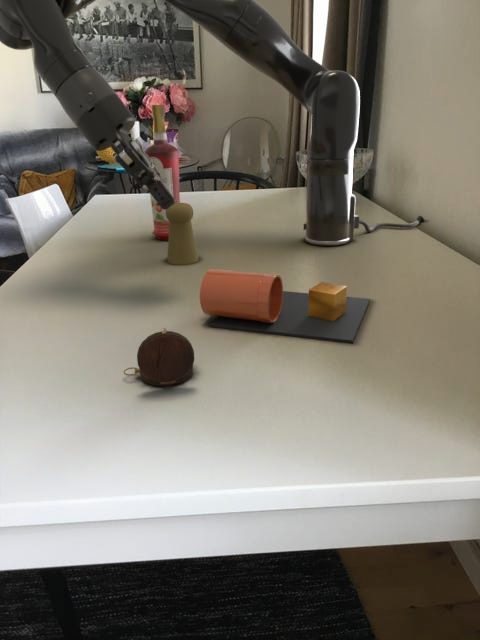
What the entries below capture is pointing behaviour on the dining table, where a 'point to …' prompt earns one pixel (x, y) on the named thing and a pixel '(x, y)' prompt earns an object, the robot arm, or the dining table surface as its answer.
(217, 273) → the tumbler
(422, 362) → the dining table surface
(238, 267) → the dining table surface
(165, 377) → the dark brown dome
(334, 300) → the block
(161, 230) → the liquor
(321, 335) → the mat
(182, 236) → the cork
